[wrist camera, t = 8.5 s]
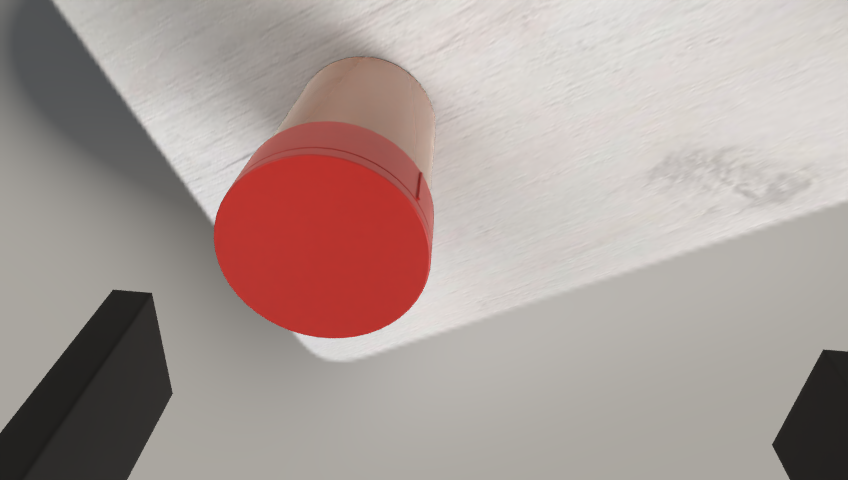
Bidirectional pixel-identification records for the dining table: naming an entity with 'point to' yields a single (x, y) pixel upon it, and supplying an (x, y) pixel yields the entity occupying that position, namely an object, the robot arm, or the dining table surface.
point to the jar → (371, 105)
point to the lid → (327, 231)
